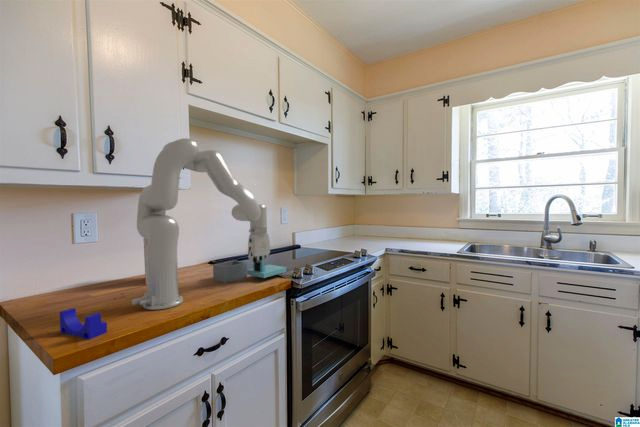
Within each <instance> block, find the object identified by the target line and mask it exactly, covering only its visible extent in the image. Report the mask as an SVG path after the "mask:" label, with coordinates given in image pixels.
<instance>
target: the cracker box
mask: <svg viewBox="0 0 640 427" xmlns="http://www.w3.org/2000/svg"><path fill="white" fill-rule="evenodd" d="M147 245H148V239H146V238H144V237H143V256H144V275H145V276H144V278H145V285H146V286H147Z"/></svg>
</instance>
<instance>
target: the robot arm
mask: <svg viewBox="0 0 640 427" xmlns="http://www.w3.org/2000/svg"><path fill="white" fill-rule="evenodd" d="M154 161H155V162H154V164H153V170H152V176H151V183H150V185H146V186H145V187H144V188H143V189H142V190H141V191H140V194H139V197H138V204H137V215H136V216H137V217H136V230H137V232H138V234H139V235H140V236H141V237H142V238H143V239H144V238H146V239H148V245H147V285H146V286H147V292H144V293H143V294H144V295H142V296H141V297H138V298H134V299H133V298H132V299H131V304H132V306H135V305H140V306H141V305H142V307H143V308H144V309H145V310H151V311H154V310H155V311H157V310H159V311H160V310H165V309H170V308H174V307H176V306H179V305H181V304H182V303H183V301H184V297H183V296H182V295H179V271H178V270H179V267H178V264H179V263H178V244H179V243H178V240H179V237H180V236H179V235H180V228H179V227H180V226H179V224H178V222H177V221H176V219H175V218H174V217H173V216H171V215H168V214H167V211H171V210H172V209H174V208H175V207H176V206H177V204H178V200H179V188H180V187H179V186H180V178H181V172H182V170H183V169H186V170H189V171H192V172H193V171H194V172H197V173H206V174H207V176H208V177H209V179H210V180H211V181H212V183H213V185H214V186H215V188H216V189H217V191H218V192H219V193H221V194H222V195H225V196H227V197H229V198H231V199H232V200H234V201H235V202H236V203H237V204H236V205H234V207H232V209H231V216H232V218H233V219H235V220H236V221H239V222H249V229H248V233H250V234H248V235H249V236H248V241H247V254H248V257H247V259H248V260H252V263H253V262H254V269H255V271H260V263H259V260H264V261H265V259H266V258H267V257H269V255H270V253H271V242H270V236H269V233H268V224H267V223H268V222H267V221H268V219H267V218H268V217H267V216H268V215H267V213H268V212H267V210H268V209H267V205H266V204H263V203H262V204H259V203H258V201H257V200H256V198H255V196H254V195H253V194H252V193H251V192H250V191H249V189H247V188H246V187H245V186H244V185H243V184H241V183H240V182H239V181H238V180H237V179H236V177H235V176H234V174H233V172H232V171H231V169H230V168H229V166H228V164H227V162H226V161H225V159H224V158H223V156H222V154H221V153H220V152H219V151H217V150H215V149H208V150H203V151H199V146H198V143H197V142H196V141H195V140H194V139H191V138H187V137H184V138H179V139H176V140H174V141H171V142H168V143H166V144H165V145H164V146H163V147H162V149H161V151H160V152H159V153H158V154H157V157H156V158H155V160H154Z"/></svg>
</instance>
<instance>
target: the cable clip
mask: <svg viewBox="0 0 640 427" xmlns="http://www.w3.org/2000/svg"><path fill="white" fill-rule="evenodd" d="M76 311H77V310H76V308H74V307H72V308H68V309H65V310H61V311H59V325H60V326H59V329H60V333H62V334H65V335H70V336H72V337H73V336H74V337H77V338H81V339H86V340H92V339H95V338H96V337H99V336H102V335H105V334H106V333H108V325H107V324H108V323H107V322H106V321H102V315H101V314H102V313H99V312H96V313H93V314H90V315H87V316H85V317H84V323H81V321H80V320H79V317H78V315H77V312H76Z"/></svg>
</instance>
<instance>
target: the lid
mask: <svg viewBox="0 0 640 427" xmlns="http://www.w3.org/2000/svg"><path fill="white" fill-rule="evenodd" d="M265 262H266V261H265V260H259V263H260V271H255V269H254V262H253V261H252V263H253V264H252V266H253V268H250V269H247V276H248V275H249V276H254V277H258V278H262V279H266V278H269V277H272V276H276V275H280V274H283V273H285V272H287V267H286V266H280V265H276V264H270V263H269V264H266V263H265ZM265 264H266V265H265Z"/></svg>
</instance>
